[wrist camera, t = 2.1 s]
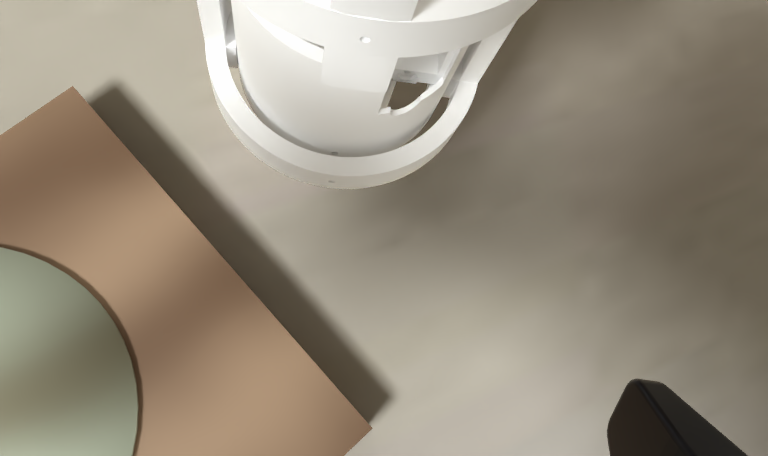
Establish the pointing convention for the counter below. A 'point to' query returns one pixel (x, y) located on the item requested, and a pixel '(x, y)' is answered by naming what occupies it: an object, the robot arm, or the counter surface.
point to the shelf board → (136, 316)
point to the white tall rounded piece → (349, 79)
